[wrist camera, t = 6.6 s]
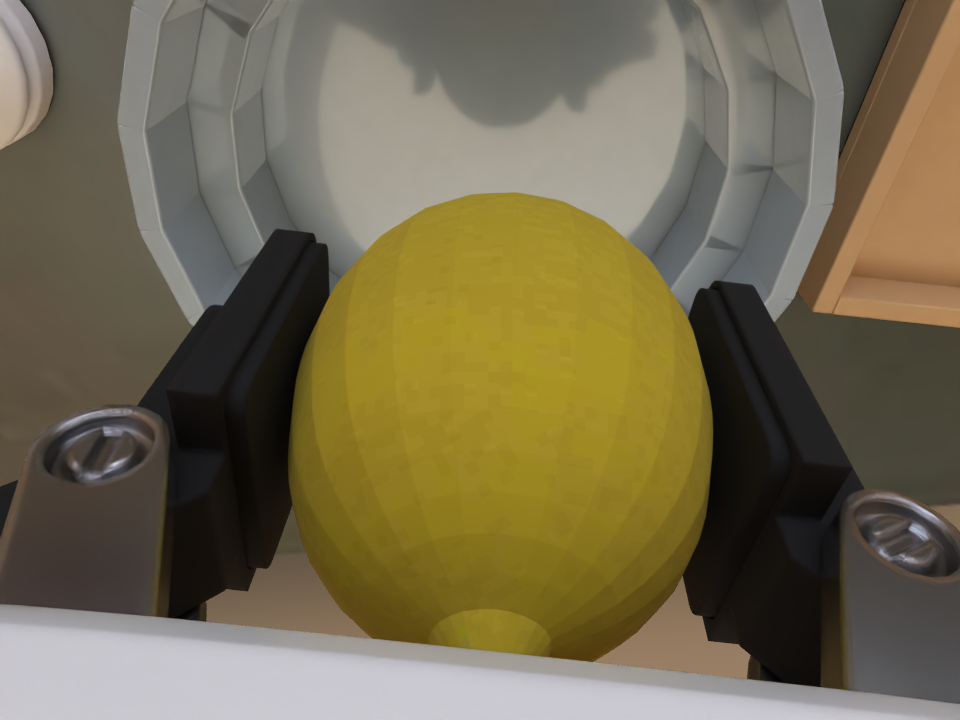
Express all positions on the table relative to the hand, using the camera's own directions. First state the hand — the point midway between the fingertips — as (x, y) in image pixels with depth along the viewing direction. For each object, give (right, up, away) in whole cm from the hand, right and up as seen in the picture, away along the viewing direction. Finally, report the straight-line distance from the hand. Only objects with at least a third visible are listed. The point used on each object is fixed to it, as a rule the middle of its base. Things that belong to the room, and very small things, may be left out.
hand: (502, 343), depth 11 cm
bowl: (0, +6, +8) cm, 10 cm away
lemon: (0, +2, +2) cm, 3 cm away
